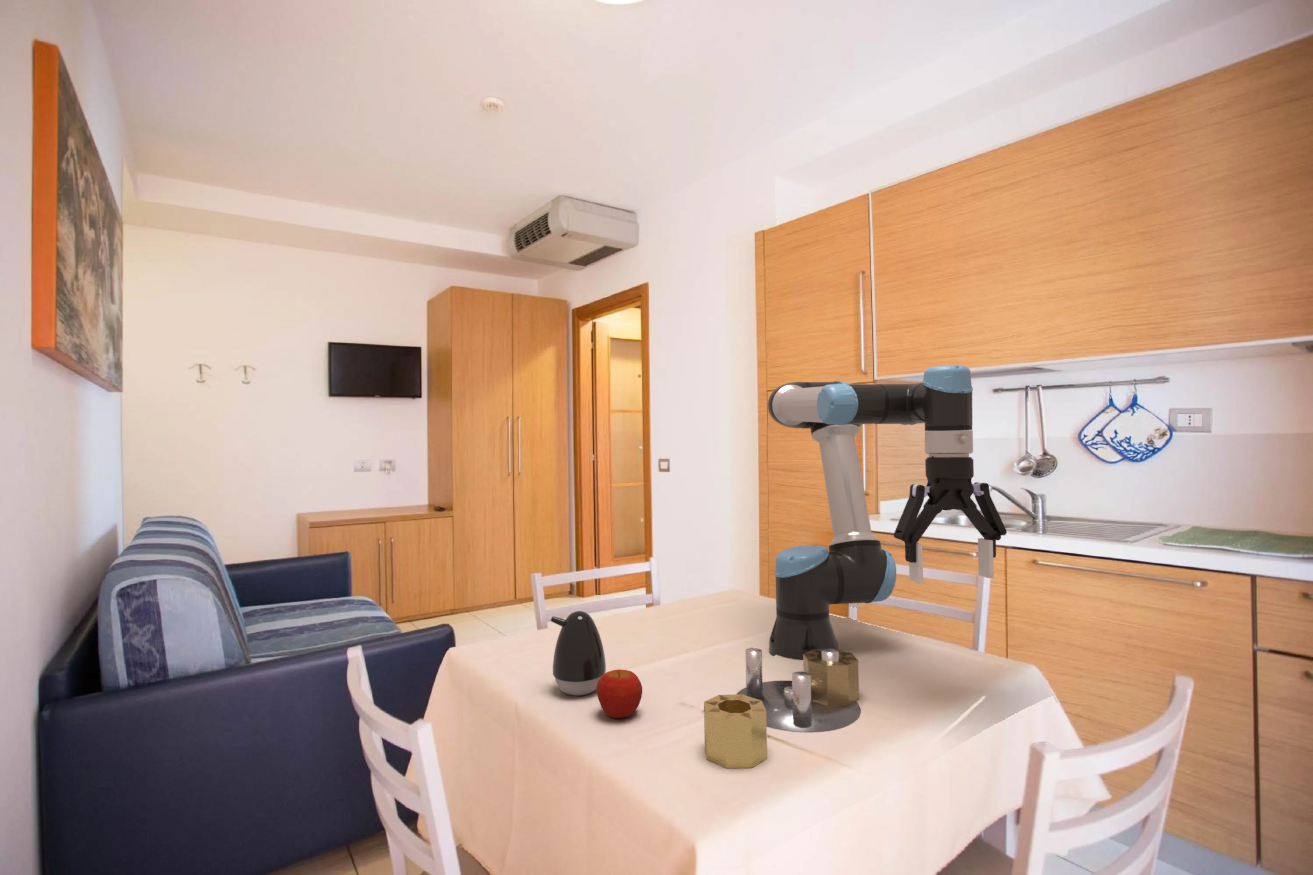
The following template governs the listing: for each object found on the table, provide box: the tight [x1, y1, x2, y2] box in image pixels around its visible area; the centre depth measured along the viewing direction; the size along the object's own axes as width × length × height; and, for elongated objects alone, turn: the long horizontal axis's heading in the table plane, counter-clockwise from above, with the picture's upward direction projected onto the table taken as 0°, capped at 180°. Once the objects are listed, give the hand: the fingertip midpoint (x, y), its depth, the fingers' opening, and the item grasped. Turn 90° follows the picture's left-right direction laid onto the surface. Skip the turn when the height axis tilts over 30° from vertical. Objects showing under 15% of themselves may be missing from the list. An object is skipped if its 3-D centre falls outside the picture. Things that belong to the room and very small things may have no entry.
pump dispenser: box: [550, 610, 607, 697], centre depth 119 cm, size 10×10×15 cm
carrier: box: [735, 647, 862, 734], centre depth 110 cm, size 22×22×9 cm
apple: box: [596, 668, 643, 719], centre depth 108 cm, size 8×8×8 cm
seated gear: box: [802, 649, 860, 706], centre depth 113 cm, size 9×9×7 cm
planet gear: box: [703, 693, 768, 769], centre depth 94 cm, size 9×9×7 cm
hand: (951, 579), depth 106 cm, fingers open, 13 cm apart
